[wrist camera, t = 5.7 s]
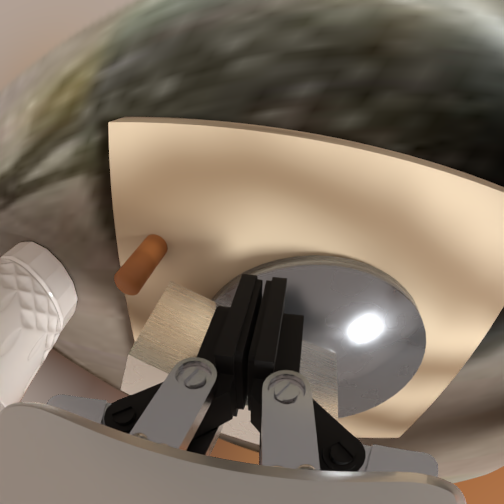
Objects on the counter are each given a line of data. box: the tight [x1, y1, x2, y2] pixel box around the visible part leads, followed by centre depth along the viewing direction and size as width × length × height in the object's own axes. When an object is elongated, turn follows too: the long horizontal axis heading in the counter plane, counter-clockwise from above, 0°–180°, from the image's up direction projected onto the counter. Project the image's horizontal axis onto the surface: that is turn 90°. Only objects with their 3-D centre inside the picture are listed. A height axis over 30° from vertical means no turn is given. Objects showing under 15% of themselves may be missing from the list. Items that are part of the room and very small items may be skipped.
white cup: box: [0, 241, 78, 411], centre depth 15 cm, size 8×8×10 cm
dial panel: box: [108, 117, 504, 438], centre depth 16 cm, size 21×21×4 cm
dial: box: [121, 255, 426, 445], centre depth 14 cm, size 14×12×5 cm
